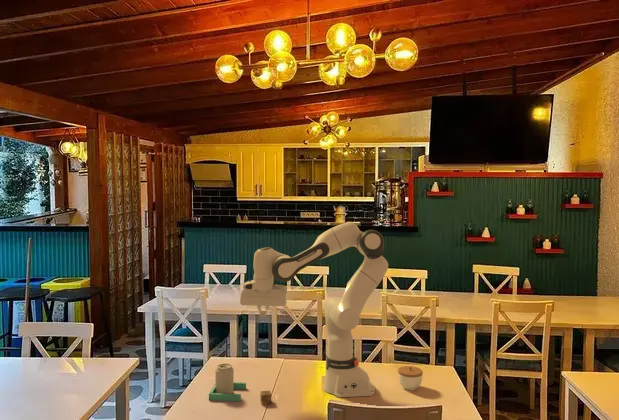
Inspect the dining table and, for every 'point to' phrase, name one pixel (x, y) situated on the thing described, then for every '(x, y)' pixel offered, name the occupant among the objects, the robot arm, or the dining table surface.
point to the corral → (227, 397)
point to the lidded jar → (410, 377)
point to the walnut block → (265, 397)
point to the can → (224, 379)
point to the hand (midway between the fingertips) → (263, 315)
